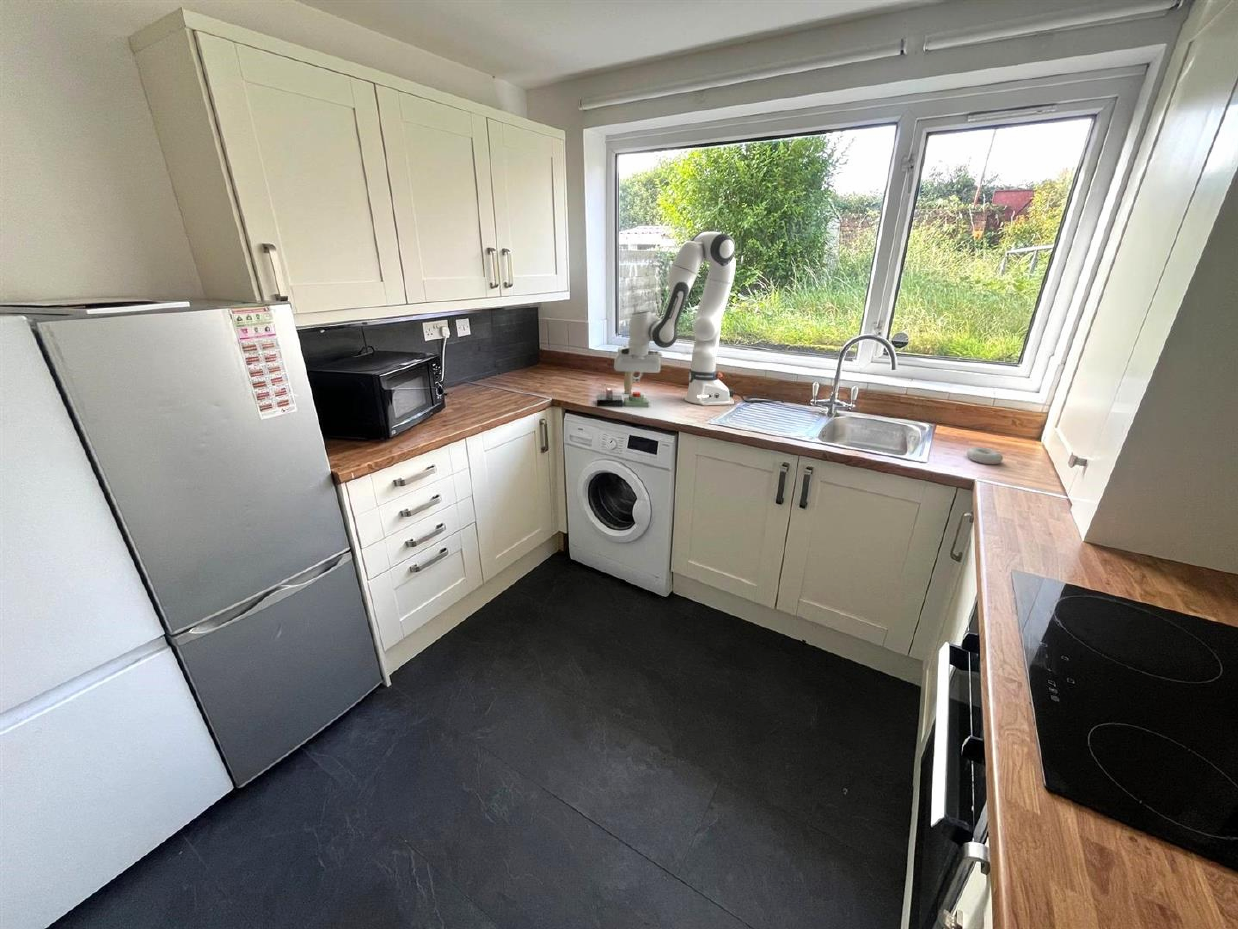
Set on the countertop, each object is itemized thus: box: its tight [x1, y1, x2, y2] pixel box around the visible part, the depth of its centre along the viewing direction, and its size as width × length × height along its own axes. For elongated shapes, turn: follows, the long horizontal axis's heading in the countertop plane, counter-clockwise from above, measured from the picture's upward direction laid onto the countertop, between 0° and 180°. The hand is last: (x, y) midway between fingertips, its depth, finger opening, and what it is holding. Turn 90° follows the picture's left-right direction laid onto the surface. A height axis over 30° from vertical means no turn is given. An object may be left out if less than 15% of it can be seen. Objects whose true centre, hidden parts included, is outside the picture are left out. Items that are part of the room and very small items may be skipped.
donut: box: [966, 447, 1004, 465], centre depth 167 cm, size 10×3×10 cm
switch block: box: [623, 393, 649, 408], centre depth 221 cm, size 10×8×4 cm
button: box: [631, 391, 642, 397], centre depth 220 cm, size 4×4×2 cm
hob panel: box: [596, 394, 623, 408], centre depth 220 cm, size 11×10×3 cm
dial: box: [605, 387, 614, 399], centre depth 219 cm, size 6×2×4 cm, turn 13°
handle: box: [623, 371, 633, 395], centre depth 238 cm, size 5×6×15 cm
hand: (636, 381), depth 218 cm, fingers closed
